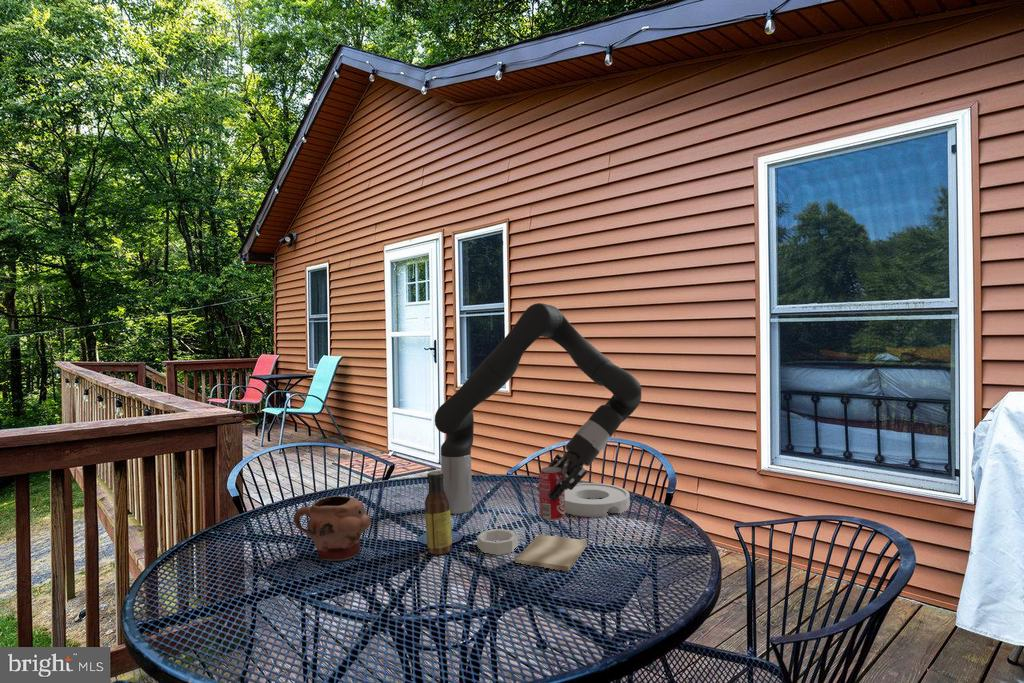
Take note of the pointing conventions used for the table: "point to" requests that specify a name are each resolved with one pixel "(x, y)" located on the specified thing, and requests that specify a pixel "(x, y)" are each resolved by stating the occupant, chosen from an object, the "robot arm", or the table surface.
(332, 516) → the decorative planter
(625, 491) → the ashtray
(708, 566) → the table surface
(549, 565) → the birch board
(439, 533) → the sauce bottle
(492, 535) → the can holder
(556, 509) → the beverage can
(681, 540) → the table surface
